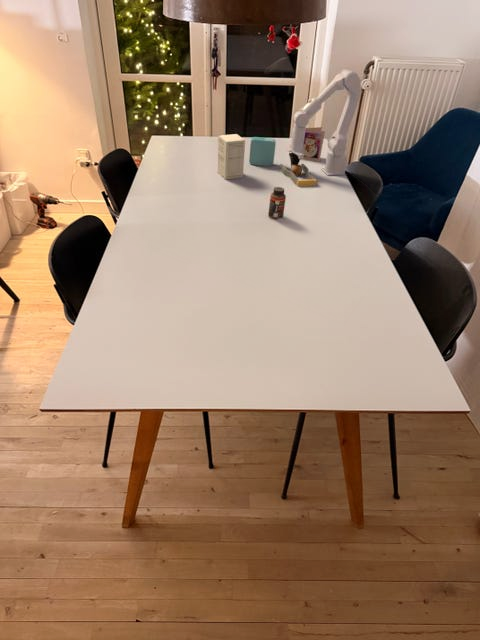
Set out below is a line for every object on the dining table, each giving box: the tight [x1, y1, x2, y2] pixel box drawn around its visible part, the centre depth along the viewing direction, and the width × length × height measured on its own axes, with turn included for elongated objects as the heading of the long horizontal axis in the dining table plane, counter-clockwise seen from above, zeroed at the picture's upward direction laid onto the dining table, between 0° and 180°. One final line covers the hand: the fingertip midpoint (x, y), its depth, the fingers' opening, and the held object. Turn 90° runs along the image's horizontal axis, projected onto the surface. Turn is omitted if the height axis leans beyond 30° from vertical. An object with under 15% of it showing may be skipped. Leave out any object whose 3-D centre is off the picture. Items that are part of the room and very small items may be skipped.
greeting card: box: [302, 126, 326, 163], centre depth 223 cm, size 11×7×15 cm, turn 77°
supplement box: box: [217, 133, 246, 180], centre depth 197 cm, size 10×9×17 cm
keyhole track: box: [279, 163, 317, 187], centre depth 205 cm, size 21×12×2 cm, turn 15°
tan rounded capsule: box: [290, 163, 303, 178], centre depth 207 cm, size 5×5×4 cm
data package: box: [248, 136, 276, 167], centre depth 213 cm, size 12×4×12 cm, turn 87°
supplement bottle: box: [267, 186, 287, 220], centre depth 168 cm, size 6×6×11 cm
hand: (293, 169), depth 211 cm, fingers closed
